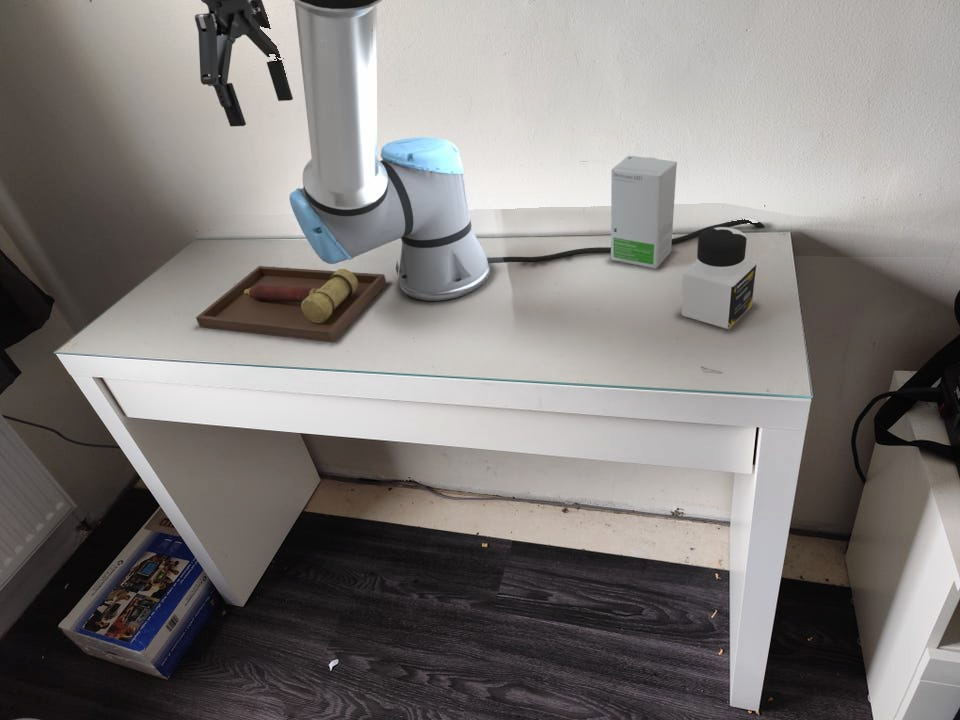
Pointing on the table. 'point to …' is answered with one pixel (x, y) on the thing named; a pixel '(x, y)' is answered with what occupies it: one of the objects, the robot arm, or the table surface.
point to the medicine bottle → (719, 279)
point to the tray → (287, 305)
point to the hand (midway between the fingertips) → (263, 112)
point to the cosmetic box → (642, 210)
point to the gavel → (312, 295)
